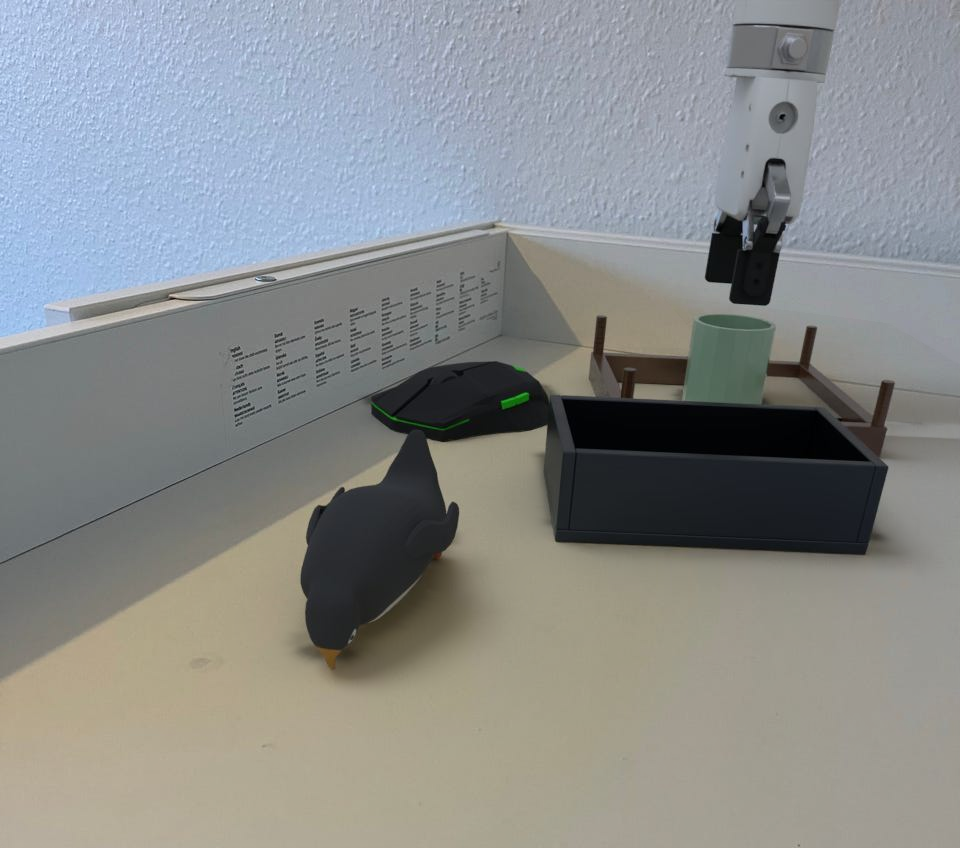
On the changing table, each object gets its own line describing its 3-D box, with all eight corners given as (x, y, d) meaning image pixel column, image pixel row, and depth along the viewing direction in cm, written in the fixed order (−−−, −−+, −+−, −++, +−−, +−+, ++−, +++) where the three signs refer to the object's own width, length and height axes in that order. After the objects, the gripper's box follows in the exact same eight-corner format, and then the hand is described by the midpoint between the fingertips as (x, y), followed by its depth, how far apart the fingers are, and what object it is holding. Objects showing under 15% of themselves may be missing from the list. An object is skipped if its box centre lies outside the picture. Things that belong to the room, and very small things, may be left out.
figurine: (354, 585, 60) (248, 664, 46) (362, 420, 57) (251, 451, 43) (471, 602, 59) (399, 689, 45) (486, 434, 56) (413, 472, 42)
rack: (803, 387, 98) (816, 325, 95) (880, 458, 79) (899, 383, 76) (588, 377, 97) (594, 314, 94) (614, 446, 79) (623, 370, 76)
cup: (748, 404, 91) (764, 315, 87) (766, 426, 85) (785, 332, 81) (675, 401, 91) (687, 312, 87) (688, 423, 85) (703, 328, 81)
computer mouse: (587, 415, 86) (592, 369, 84) (445, 450, 76) (447, 399, 74) (496, 386, 93) (498, 342, 91) (355, 415, 83) (354, 367, 81)
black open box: (807, 484, 73) (824, 407, 70) (866, 555, 62) (889, 466, 59) (543, 472, 72) (549, 394, 70) (554, 541, 61) (563, 451, 59)
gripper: (865, 59, 67) (808, 316, 76) (794, 63, 83) (754, 278, 91) (756, 51, 67) (711, 310, 76) (705, 57, 82) (673, 272, 91)
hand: (734, 292), depth 83 cm, fingers open, 9 cm apart
